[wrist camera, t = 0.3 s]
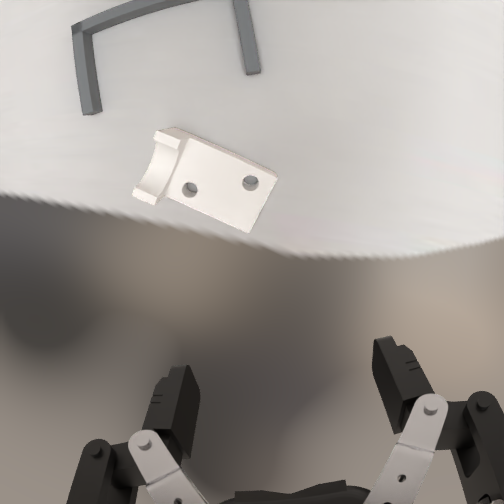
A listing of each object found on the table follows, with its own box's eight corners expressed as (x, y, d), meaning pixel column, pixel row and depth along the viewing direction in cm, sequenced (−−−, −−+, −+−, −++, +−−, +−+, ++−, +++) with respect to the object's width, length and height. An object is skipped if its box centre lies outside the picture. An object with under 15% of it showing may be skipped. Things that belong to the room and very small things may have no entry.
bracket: (153, 180, 37) (131, 195, 30) (175, 127, 35) (156, 130, 28) (249, 223, 40) (247, 248, 33) (275, 172, 37) (280, 186, 30)
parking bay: (80, 29, 28) (71, 25, 26) (242, -18, 27) (242, -26, 25) (92, 114, 33) (82, 115, 31) (260, 73, 32) (260, 70, 30)
